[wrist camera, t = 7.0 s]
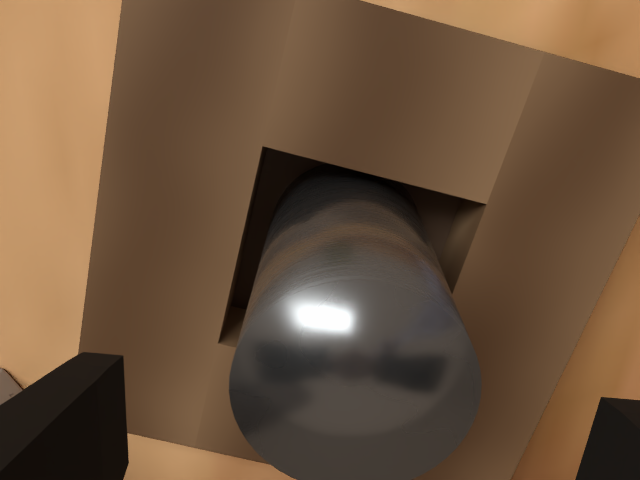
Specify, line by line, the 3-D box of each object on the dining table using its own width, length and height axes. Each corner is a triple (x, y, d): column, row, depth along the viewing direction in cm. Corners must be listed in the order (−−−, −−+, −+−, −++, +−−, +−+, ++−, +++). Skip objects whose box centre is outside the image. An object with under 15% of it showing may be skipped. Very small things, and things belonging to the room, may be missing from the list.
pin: (435, 173, 15) (511, 301, 9) (403, 309, 17) (448, 504, 10) (280, 149, 15) (242, 262, 9) (262, 289, 17) (218, 474, 10)
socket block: (641, 80, 15) (698, 94, 13) (474, 452, 19) (494, 514, 17) (164, -53, 14) (130, -65, 12) (103, 367, 18) (70, 420, 16)
